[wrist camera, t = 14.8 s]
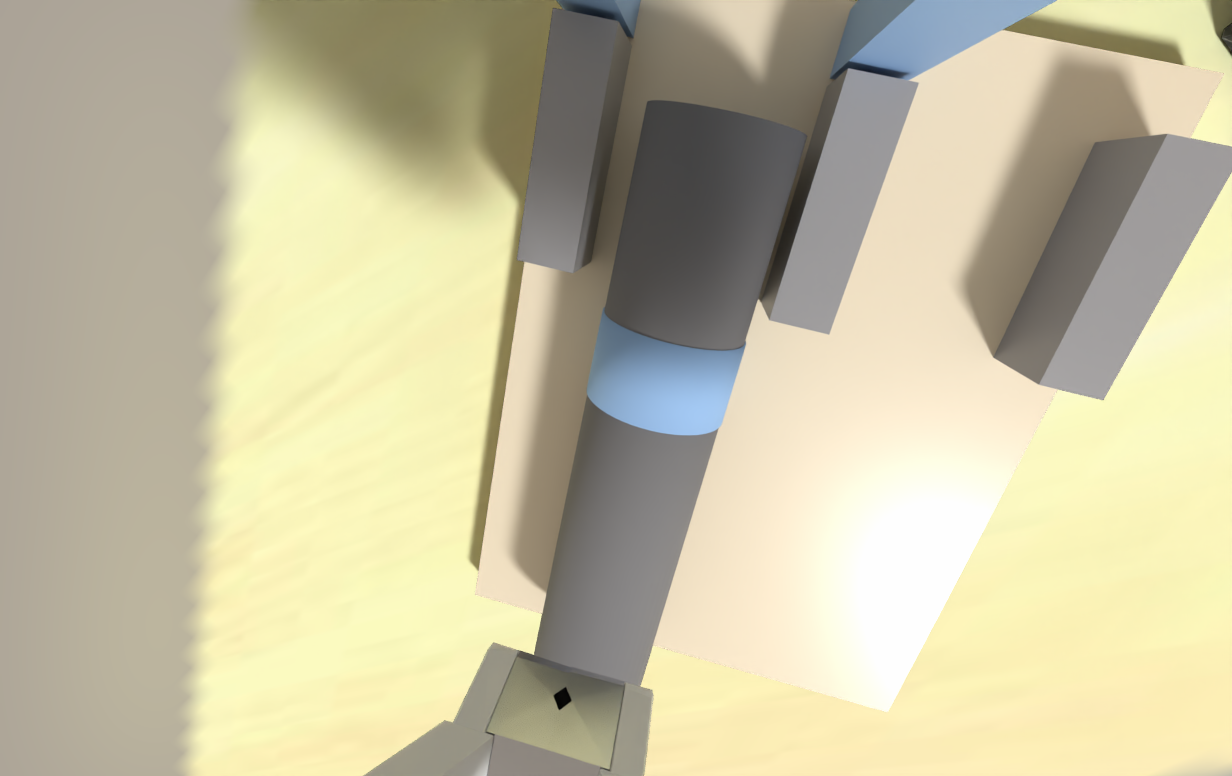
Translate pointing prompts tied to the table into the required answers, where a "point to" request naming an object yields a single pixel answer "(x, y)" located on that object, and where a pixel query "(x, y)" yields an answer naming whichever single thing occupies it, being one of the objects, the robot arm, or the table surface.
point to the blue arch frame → (882, 30)
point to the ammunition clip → (1228, 36)
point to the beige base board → (850, 311)
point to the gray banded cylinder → (662, 373)
